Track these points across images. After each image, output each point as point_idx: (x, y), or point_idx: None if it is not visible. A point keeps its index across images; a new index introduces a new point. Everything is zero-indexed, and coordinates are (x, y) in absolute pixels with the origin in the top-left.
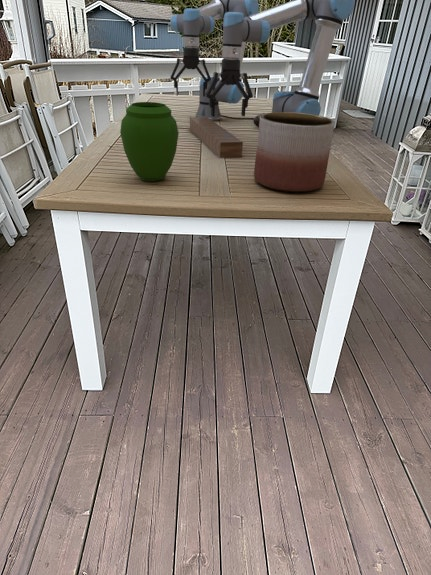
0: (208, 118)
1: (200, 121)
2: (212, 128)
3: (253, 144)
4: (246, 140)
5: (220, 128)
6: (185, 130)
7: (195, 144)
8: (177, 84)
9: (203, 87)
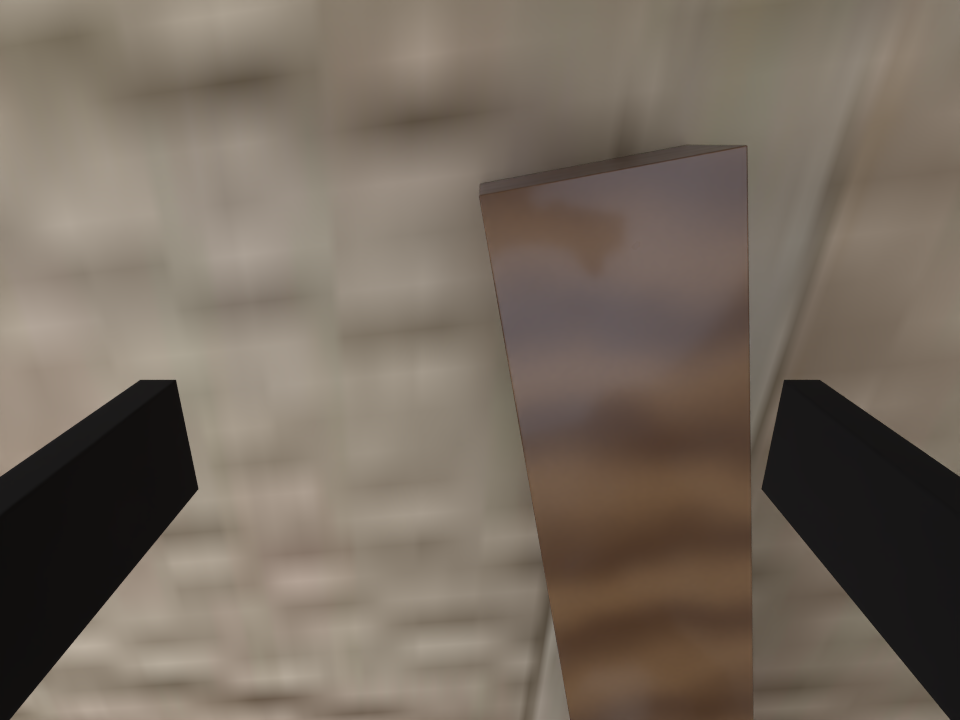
0: (734, 245)
1: (590, 448)
2: (650, 717)
3: None
4: None
5: (723, 710)
6: (433, 217)
7: (495, 680)
8: (22, 686)
9: (889, 604)
